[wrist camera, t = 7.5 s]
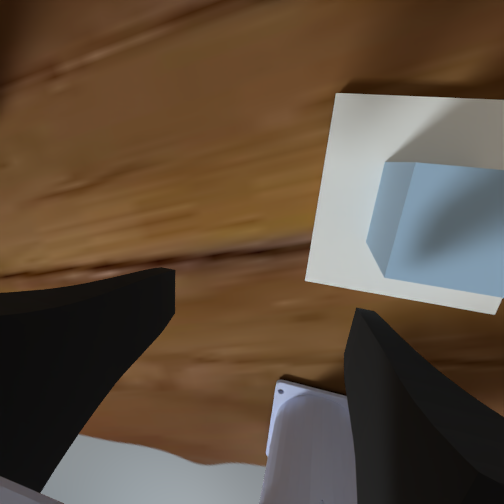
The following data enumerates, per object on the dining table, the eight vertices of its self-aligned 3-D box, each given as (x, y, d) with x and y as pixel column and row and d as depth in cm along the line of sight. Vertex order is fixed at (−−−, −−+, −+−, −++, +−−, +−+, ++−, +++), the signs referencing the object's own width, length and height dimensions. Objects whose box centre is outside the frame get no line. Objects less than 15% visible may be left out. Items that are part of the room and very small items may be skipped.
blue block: (450, 254, 17) (511, 299, 11) (365, 241, 18) (384, 277, 12) (480, 170, 15) (567, 176, 10) (384, 161, 16) (415, 162, 11)
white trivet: (486, 307, 18) (494, 314, 17) (305, 275, 21) (305, 280, 20) (571, 107, 14) (588, 103, 13) (335, 96, 17) (336, 92, 16)
